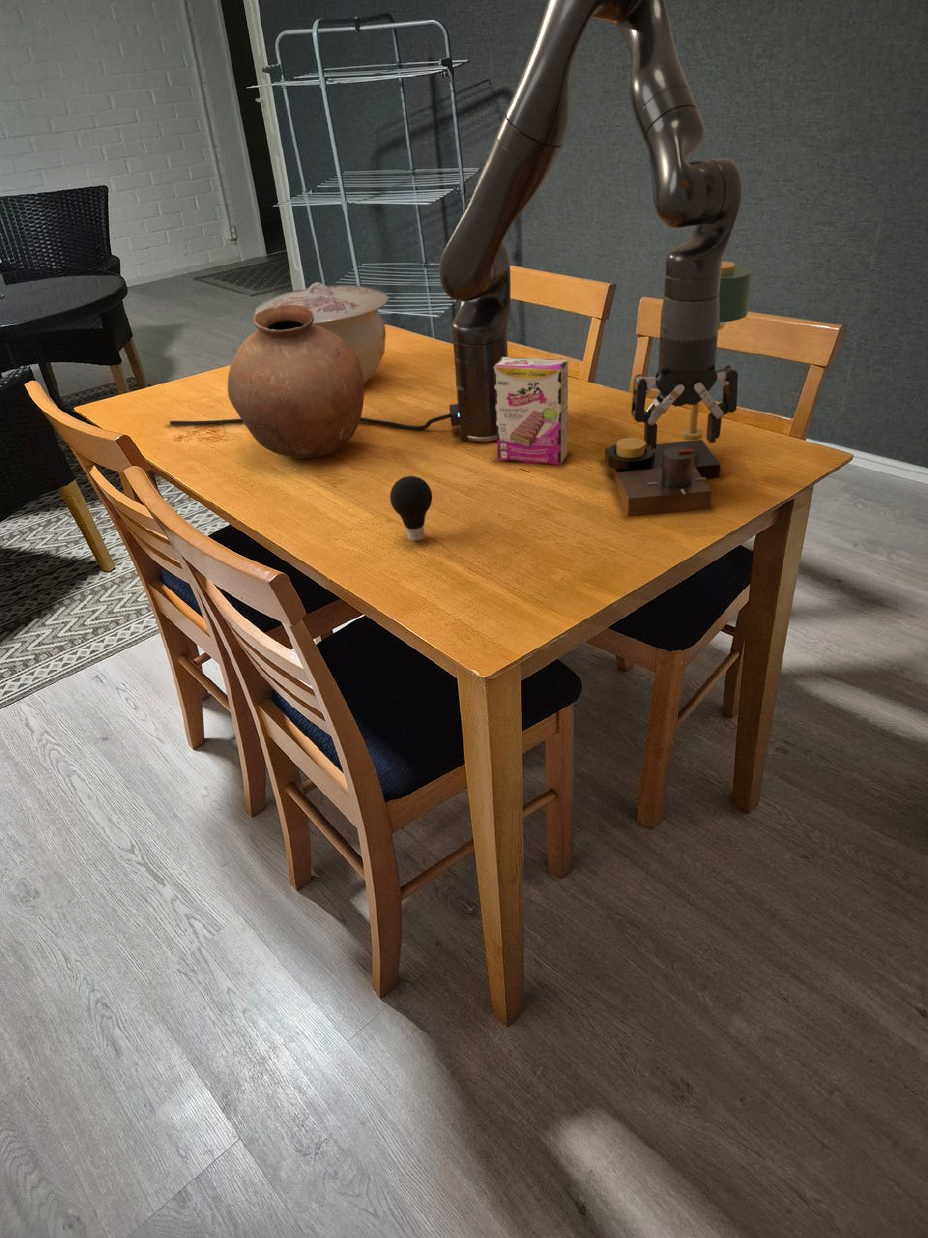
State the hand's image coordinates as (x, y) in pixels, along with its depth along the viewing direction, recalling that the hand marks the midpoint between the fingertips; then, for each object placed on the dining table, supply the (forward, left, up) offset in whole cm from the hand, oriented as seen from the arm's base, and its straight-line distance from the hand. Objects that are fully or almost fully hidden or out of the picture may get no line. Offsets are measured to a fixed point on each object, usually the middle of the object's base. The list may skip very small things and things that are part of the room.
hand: (681, 444), depth 122 cm
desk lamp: (+8, +13, -5) cm, 16 cm away
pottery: (-58, +31, -9) cm, 67 cm away
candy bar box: (-19, +19, -9) cm, 29 cm away
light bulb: (-39, -6, -9) cm, 41 cm away
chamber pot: (-56, +68, -9) cm, 89 cm away
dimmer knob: (0, 0, -6) cm, 6 cm away
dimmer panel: (-2, 0, -9) cm, 9 cm away
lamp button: (-5, +10, -5) cm, 12 cm away
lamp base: (0, +11, -9) cm, 14 cm away
